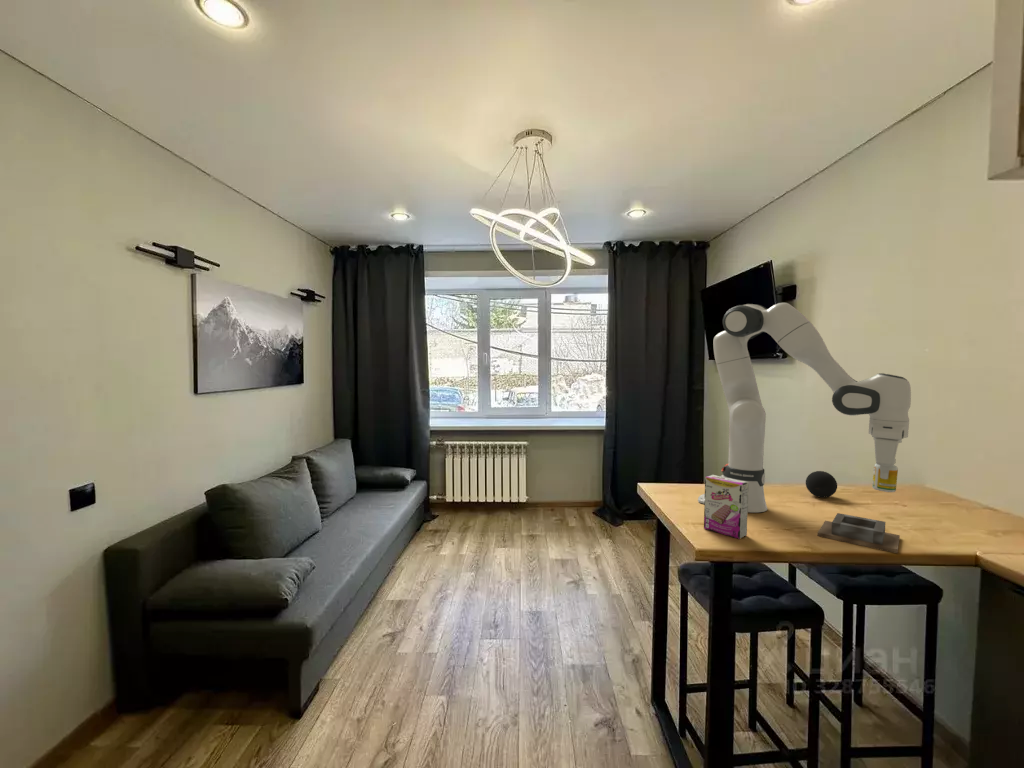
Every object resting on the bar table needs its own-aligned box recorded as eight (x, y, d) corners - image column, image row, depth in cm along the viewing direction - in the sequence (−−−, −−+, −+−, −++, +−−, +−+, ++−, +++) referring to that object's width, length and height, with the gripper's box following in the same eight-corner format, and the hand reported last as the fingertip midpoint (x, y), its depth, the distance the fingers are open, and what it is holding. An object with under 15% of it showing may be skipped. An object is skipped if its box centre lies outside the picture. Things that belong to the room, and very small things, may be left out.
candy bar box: (702, 529, 138) (703, 476, 137) (710, 525, 141) (712, 474, 140) (740, 540, 129) (741, 484, 128) (747, 536, 132) (749, 481, 131)
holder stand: (817, 535, 132) (817, 520, 132) (825, 523, 143) (825, 509, 142) (897, 553, 120) (898, 536, 120) (899, 538, 130) (900, 523, 130)
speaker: (843, 501, 166) (844, 474, 166) (815, 500, 167) (816, 474, 166) (825, 493, 176) (826, 468, 176) (799, 493, 177) (800, 468, 176)
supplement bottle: (867, 487, 133) (869, 455, 133) (884, 487, 134) (886, 455, 133) (883, 492, 128) (886, 459, 128) (901, 492, 128) (903, 459, 128)
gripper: (876, 425, 140) (873, 468, 141) (871, 431, 125) (868, 480, 125) (903, 427, 136) (899, 472, 136) (901, 434, 120) (898, 485, 121)
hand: (884, 476), depth 131 cm, fingers closed on supplement bottle, 5 cm apart
